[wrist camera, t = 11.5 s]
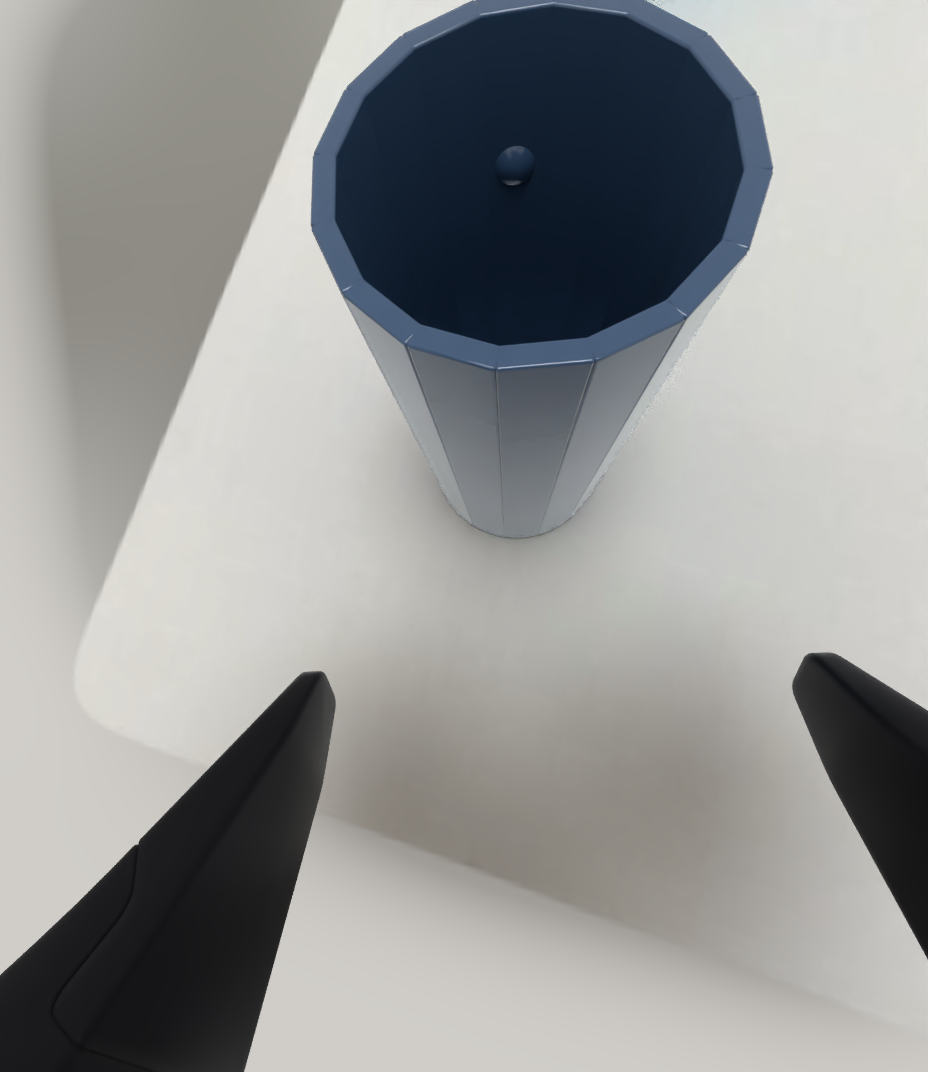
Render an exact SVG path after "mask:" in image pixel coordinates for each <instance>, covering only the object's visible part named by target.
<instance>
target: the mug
mask: <svg viewBox="0 0 928 1072" xmlns="http://www.w3.org/2000/svg"><path fill="white" fill-rule="evenodd" d="M772 170H773V164H772V159H771V154H770V149H769V144H768V139H767V134H766V130H765V125H764V120H763V115H762V110H761V105H760V100H759V96H758V95H757V92H756V90H755V89H754V88H753V87H752V85H751V84H750V83H749V82H748V81H747V79H746V78H745V77H744V76H743V74H742V73H741V72H740V71H739V69H738V68H737V67H736V66H735V65H734V63H733V62H732V61H731V60H730V58H729V57H728V56H727V55H726V54H725V52H724V51H723V50H722V49H721V47H720V46H719V45H718V44H717V42H716V41H715V40H714V39H713V38H712V36H710V35H708V33H707V32H705V31H703V30H701V29H699V28H697V27H695V26H693V25H691V24H690V23H688V22H686V21H684V20H682V19H680V18H678V17H676V16H674V15H672V14H670V13H668V12H666V11H664V10H663V9H661V8H659V7H657V6H655V5H653V4H651V3H649V2H647V1H645V0H475V1H474V0H472V1H470V2H468V3H466V4H464V5H462V6H460V7H458V8H455V9H453V10H451V11H449V12H447V13H445V14H443V15H441V16H439V17H437V18H435V19H433V20H431V21H429V22H427V23H425V24H423V25H420V26H418V27H416V28H414V29H412V30H410V31H408V32H406V33H404V34H403V36H400V37H399V38H397V39H396V40H395V41H394V42H393V43H392V44H391V45H390V46H389V47H388V48H387V49H386V50H385V51H384V52H383V53H382V54H381V55H380V56H379V57H378V58H376V59H375V60H374V61H373V62H372V63H371V64H370V65H369V66H368V67H367V68H366V69H365V70H364V71H363V72H362V73H361V74H360V75H359V76H358V77H357V78H355V79H354V80H353V81H352V82H351V83H350V84H349V85H348V86H347V88H346V90H344V92H343V94H342V96H341V98H340V100H339V102H338V104H337V106H336V108H335V110H334V112H333V115H332V117H331V119H330V121H329V123H328V125H327V127H326V129H325V131H324V133H323V135H322V137H321V139H320V141H319V143H318V145H317V147H316V149H315V152H314V156H313V171H312V202H311V227H312V232H313V234H314V236H315V238H316V240H317V243H318V245H319V247H320V249H321V251H322V253H323V256H324V258H325V260H326V262H327V264H328V266H329V268H330V271H331V273H332V275H333V277H334V279H335V281H336V284H337V286H338V288H339V290H340V292H341V294H342V296H343V298H344V300H345V302H346V304H347V306H348V308H349V310H350V312H351V314H352V316H353V318H354V320H355V322H356V323H357V325H358V327H359V329H360V331H361V333H362V335H363V337H364V339H365V341H366V343H367V345H368V347H369V349H370V351H371V353H372V355H373V357H374V358H375V360H376V362H377V364H378V366H379V368H380V370H381V372H382V374H383V376H384V378H385V380H386V382H387V384H388V386H389V388H390V390H391V392H392V394H393V395H394V397H395V399H396V401H397V403H398V405H399V407H400V409H401V411H402V413H403V415H404V417H405V419H406V421H407V423H408V425H409V427H410V429H411V431H412V432H413V434H414V436H415V438H416V440H417V442H418V444H419V446H420V448H421V450H422V452H423V454H424V456H425V458H426V460H427V462H428V464H429V466H430V468H431V469H432V471H433V473H434V475H435V477H436V479H437V481H438V483H439V485H440V487H441V489H442V491H443V493H444V495H445V497H446V499H447V501H448V503H449V504H450V505H451V506H452V507H453V508H454V509H455V511H456V512H457V513H458V514H459V515H460V516H461V517H462V518H463V519H464V520H466V521H467V522H468V523H470V524H471V525H473V526H474V527H476V528H478V529H480V530H482V531H484V532H487V533H489V534H493V535H496V536H500V537H508V538H524V537H532V536H536V535H540V534H543V533H546V532H548V531H551V530H553V529H555V528H556V527H558V526H560V525H562V524H563V523H564V522H566V521H567V520H569V519H570V518H571V517H572V516H573V515H574V514H575V513H576V512H577V511H578V510H579V508H580V507H581V506H582V505H583V503H584V502H585V501H586V500H587V499H588V498H589V497H590V495H591V494H592V492H593V490H594V489H595V487H596V486H597V484H598V483H599V481H600V480H601V478H602V477H603V475H604V473H605V472H606V470H607V469H608V467H609V466H610V464H611V463H612V461H613V460H614V458H615V457H616V455H617V453H618V452H619V450H620V449H621V447H622V446H623V444H624V443H625V441H626V440H627V438H628V437H629V435H630V433H631V432H632V430H633V429H634V427H635V426H636V424H637V423H638V421H639V420H640V418H641V416H642V415H643V413H644V412H645V410H646V409H647V407H648V406H649V404H650V403H651V401H652V400H653V398H654V396H655V395H656V393H657V392H658V390H659V389H660V387H661V386H662V384H663V383H664V381H665V380H666V378H667V376H668V375H669V373H670V372H671V370H672V369H673V367H674V366H675V364H676V363H677V361H678V360H679V358H680V356H681V355H682V353H683V352H684V350H685V349H686V347H687V346H688V344H689V343H690V341H691V339H692V338H693V336H694V335H695V333H696V332H697V330H698V329H699V327H700V326H701V324H702V323H703V321H704V319H705V318H706V316H707V315H708V313H709V312H710V310H711V309H712V307H713V306H714V304H715V303H716V301H717V299H718V298H719V296H720V295H721V293H722V292H723V290H724V289H725V287H726V286H727V284H728V282H729V281H730V279H731V278H732V276H733V275H734V273H735V272H736V270H737V269H738V267H739V266H740V264H741V262H742V261H743V259H744V258H745V256H746V255H747V253H748V251H749V250H750V247H751V243H752V240H753V237H754V234H755V230H756V227H757V224H758V221H759V217H760V214H761V211H762V207H763V204H764V201H765V198H766V194H767V191H768V188H769V185H770V181H771V178H772V174H773V171H772Z"/></svg>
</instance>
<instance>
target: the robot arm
mask: <svg viewBox="0 0 928 1072" xmlns="http://www.w3.org/2000/svg"><path fill="white" fill-rule="evenodd" d="M792 689H793V694H794V697H795V699H796V702H797V704H798V706H799V709H800V711H801V713H802V716H803V718H804V720H805V723H806V725H807V728H808V730H809V732H810V735H811V737H812V739H813V742H814V744H815V746H816V749H817V751H818V753H819V756H820V758H821V761H822V763H823V765H824V767H825V770H826V772H827V774H828V776H829V778H830V780H831V782H832V784H833V786H834V788H835V790H836V792H837V794H838V796H839V798H840V799H841V801H842V803H843V805H844V807H845V808H846V810H847V812H848V814H849V816H850V818H851V819H852V821H853V823H854V825H855V827H856V829H857V830H858V832H859V834H860V836H861V838H862V840H863V841H864V843H865V845H866V847H867V849H868V851H869V852H870V854H871V856H872V858H873V860H874V862H875V863H876V865H877V867H878V869H879V871H880V873H881V874H882V876H883V878H884V880H885V882H886V884H887V885H888V887H889V889H890V891H891V893H892V895H893V896H894V898H895V900H896V902H897V904H898V906H899V907H900V909H901V911H902V913H903V915H904V917H905V918H906V920H907V922H908V924H909V926H910V928H911V929H912V931H913V933H914V935H915V937H916V939H917V940H918V942H919V944H920V946H921V948H922V950H923V951H924V953H925V955H926V957H927V959H928V711H927V710H926V709H924V708H923V707H921V706H919V705H918V704H916V703H915V702H913V701H911V700H910V699H908V698H907V697H905V696H903V695H902V694H900V693H898V692H897V691H895V690H894V689H892V688H890V687H889V686H887V685H886V684H884V683H882V682H881V681H879V680H878V679H876V678H874V677H873V676H871V675H870V674H868V673H866V672H865V671H863V670H862V669H860V668H858V667H857V666H855V665H853V664H852V663H850V662H849V661H847V660H845V659H844V658H842V657H841V656H839V655H837V654H834V653H810V654H808V655H806V656H805V657H804V659H803V661H802V663H801V665H800V667H799V669H798V671H797V673H796V676H795V678H794V680H793V684H792ZM335 706H336V702H335V696H334V693H333V691H332V689H331V686H330V684H329V681H328V679H327V677H326V675H325V673H323V672H322V671H312V672H304V673H302V674H300V675H299V676H298V677H297V678H296V679H295V680H294V681H293V682H292V683H291V684H290V685H289V686H288V687H287V688H286V689H285V690H284V692H283V693H282V694H281V695H280V696H279V697H278V698H277V699H276V700H275V701H274V702H273V703H272V704H271V705H270V706H269V707H268V708H267V709H266V710H265V711H264V712H263V713H262V714H261V715H260V716H259V717H258V718H257V719H256V720H255V721H254V722H253V724H252V725H251V726H250V727H249V728H248V729H247V730H246V731H245V732H244V733H243V734H242V735H241V736H240V737H239V738H238V739H237V740H236V741H235V742H234V743H233V744H232V745H231V746H230V747H229V748H228V749H227V750H226V751H225V752H224V753H223V755H222V756H221V757H220V758H219V759H218V760H217V761H216V762H215V763H214V764H213V765H212V766H211V767H210V768H209V769H208V770H207V771H206V772H205V773H204V774H203V775H202V776H201V777H200V778H199V779H198V780H197V782H195V783H194V784H193V785H192V787H191V788H190V789H189V790H188V791H187V792H186V793H185V794H184V795H183V796H182V797H181V798H180V799H179V800H178V801H177V802H176V803H175V804H174V805H173V806H172V807H171V808H170V809H169V810H168V811H167V813H165V814H164V816H162V818H161V819H160V820H159V821H158V822H157V823H156V824H155V825H154V826H153V827H152V828H151V829H150V830H149V831H148V832H147V833H146V834H145V835H144V836H143V837H142V838H141V839H140V841H139V844H138V845H134V846H133V847H132V848H131V849H130V850H129V851H128V852H127V853H126V854H125V855H124V857H123V858H122V859H121V860H120V861H119V862H118V863H117V864H116V865H115V866H114V867H113V868H112V869H111V870H110V871H109V872H108V873H107V874H106V875H105V876H104V877H103V878H102V879H101V880H100V881H99V882H98V883H97V884H96V885H95V886H94V887H93V888H92V889H91V890H90V891H89V892H88V893H87V894H86V895H85V896H84V897H83V898H82V899H81V900H80V901H79V902H78V903H77V904H76V905H75V906H74V907H73V908H72V909H71V910H70V911H68V912H67V913H66V914H65V915H64V916H63V917H62V918H61V919H60V920H59V921H58V922H57V923H56V924H55V925H54V926H53V927H52V928H50V929H49V930H48V931H47V932H46V933H45V934H44V935H43V936H42V937H41V938H40V939H39V940H38V941H37V942H36V943H35V944H34V945H32V946H31V947H30V948H29V949H28V950H27V951H26V952H25V953H24V954H23V955H22V956H21V957H20V958H18V959H17V960H16V961H15V962H14V963H13V964H12V965H11V966H10V967H9V968H7V969H6V970H5V971H4V972H3V973H2V974H1V975H0V1072H244V1070H245V1066H246V1062H247V1059H248V1055H249V1052H250V1048H251V1045H252V1041H253V1037H254V1034H255V1030H256V1026H257V1023H258V1019H259V1015H260V1011H261V1008H262V1004H263V1001H264V997H265V993H266V990H267V986H268V982H269V979H270V975H271V972H272V968H273V964H274V961H275V957H276V953H277V949H278V946H279V942H280V938H281V935H282V932H283V928H284V924H285V920H286V917H287V913H288V909H289V906H290V902H291V899H292V895H293V891H294V888H295V884H296V881H297V877H298V873H299V870H300V866H301V862H302V859H303V855H304V851H305V848H306V844H307V840H308V837H309V833H310V829H311V826H312V822H313V819H314V815H315V811H316V808H317V804H318V800H319V796H320V792H321V788H322V784H323V779H324V773H325V768H326V762H327V756H328V750H329V744H330V737H331V731H332V725H333V719H334V713H335Z"/></svg>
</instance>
